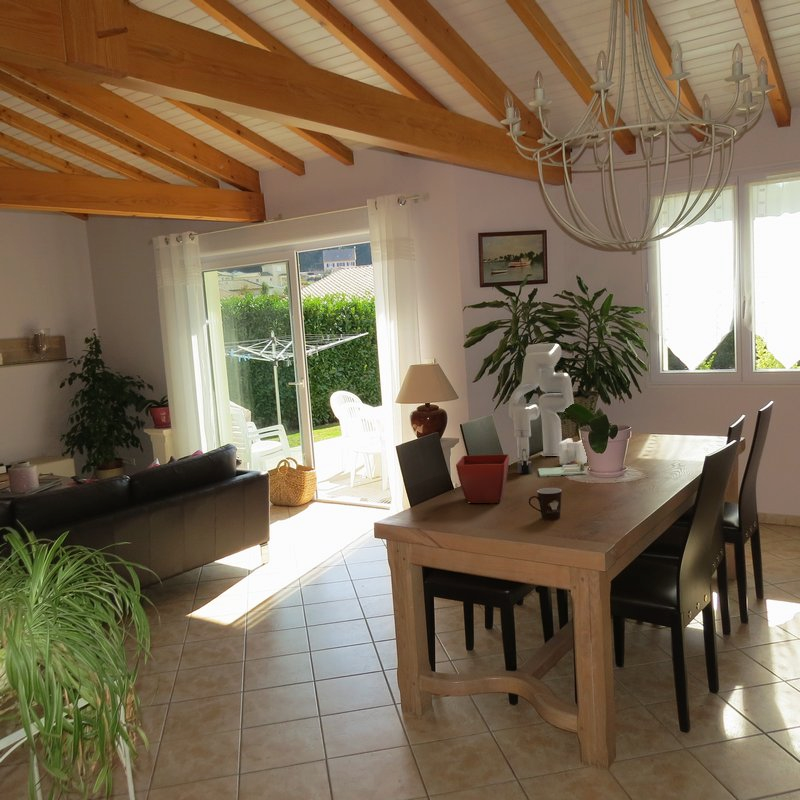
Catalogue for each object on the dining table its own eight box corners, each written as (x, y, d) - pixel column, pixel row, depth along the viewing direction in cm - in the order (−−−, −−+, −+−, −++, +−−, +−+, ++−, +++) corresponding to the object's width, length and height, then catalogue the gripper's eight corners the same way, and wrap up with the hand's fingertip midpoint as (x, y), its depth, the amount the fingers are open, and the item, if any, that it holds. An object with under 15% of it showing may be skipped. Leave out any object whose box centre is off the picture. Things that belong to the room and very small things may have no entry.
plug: (518, 472, 357) (517, 461, 357) (531, 471, 357) (530, 461, 356) (518, 473, 354) (518, 463, 353) (531, 473, 353) (531, 462, 352)
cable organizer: (580, 467, 357) (578, 443, 356) (558, 466, 363) (557, 442, 361) (590, 461, 369) (589, 437, 368) (569, 460, 375) (568, 437, 374)
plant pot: (507, 506, 297) (504, 463, 296) (458, 506, 302) (455, 464, 300) (511, 494, 316) (509, 453, 314) (466, 495, 321) (463, 455, 319)
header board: (538, 470, 357) (537, 460, 357) (581, 468, 355) (581, 457, 354) (539, 477, 344) (539, 466, 343) (585, 474, 341) (584, 463, 341)
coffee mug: (563, 514, 279) (561, 487, 277) (563, 520, 270) (561, 493, 269) (531, 515, 281) (529, 488, 280) (529, 521, 273) (527, 494, 272)
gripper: (513, 431, 362) (516, 469, 364) (515, 436, 345) (517, 476, 347) (530, 430, 361) (532, 468, 363) (531, 435, 345) (534, 475, 346)
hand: (525, 471), depth 355 cm, fingers closed on plug, 3 cm apart
